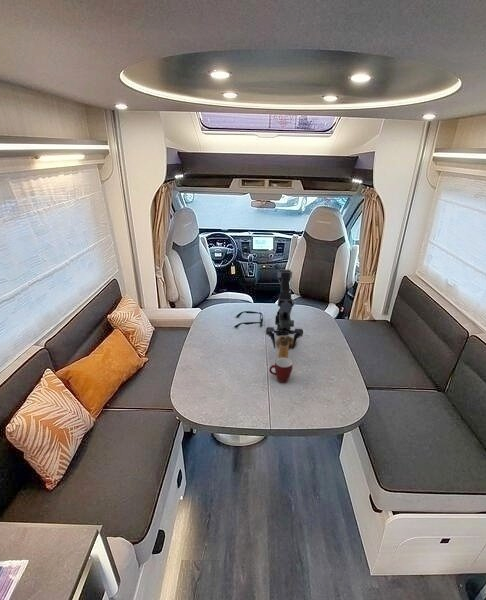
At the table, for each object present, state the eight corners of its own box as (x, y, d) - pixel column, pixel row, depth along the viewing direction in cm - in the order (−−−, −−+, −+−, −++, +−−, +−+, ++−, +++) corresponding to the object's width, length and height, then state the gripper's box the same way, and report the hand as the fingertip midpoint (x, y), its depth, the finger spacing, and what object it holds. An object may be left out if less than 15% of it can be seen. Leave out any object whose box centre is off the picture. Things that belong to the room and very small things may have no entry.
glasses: (262, 330, 194) (263, 323, 192) (234, 328, 193) (234, 321, 191) (262, 318, 209) (263, 311, 207) (236, 316, 209) (236, 309, 207)
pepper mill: (276, 363, 160) (277, 341, 155) (283, 360, 163) (285, 338, 158) (281, 368, 157) (283, 345, 152) (289, 365, 159) (291, 343, 154)
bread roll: (282, 350, 171) (282, 341, 170) (273, 342, 181) (273, 334, 180) (299, 347, 176) (300, 338, 174) (290, 340, 186) (290, 332, 184)
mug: (268, 384, 145) (269, 366, 141) (269, 374, 152) (269, 356, 148) (291, 386, 144) (293, 368, 140) (290, 375, 151) (292, 357, 147)
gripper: (266, 312, 156) (265, 343, 150) (304, 314, 155) (304, 345, 149) (266, 319, 166) (265, 348, 160) (301, 321, 165) (301, 350, 159)
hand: (283, 348), depth 157 cm, fingers open, 9 cm apart
